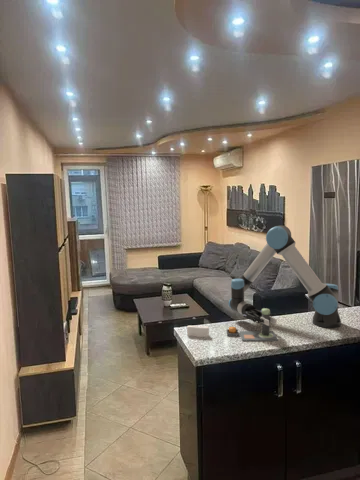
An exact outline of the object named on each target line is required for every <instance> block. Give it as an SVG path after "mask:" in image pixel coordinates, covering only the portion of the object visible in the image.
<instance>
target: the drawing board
mask: <svg viewBox="0 0 360 480" xmlns="http://www.w3.org/2000/svg"><path fill="white" fill-rule="evenodd" d="M239 336H240V338H241V341H242V342H278V341H279V339H278V337H277V335H276V334H275V332H274V330H270V334H269V335H263V334H262V330H241V331H239Z"/></svg>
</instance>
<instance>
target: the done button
mask: <svg viewBox="0 0 360 480" xmlns="http://www.w3.org/2000/svg"><path fill="white" fill-rule="evenodd" d="M228 329H229V332H228V333H237V332H236V329H237V327H235V326H229V327H228Z"/></svg>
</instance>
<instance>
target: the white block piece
mask: <svg viewBox="0 0 360 480" xmlns="http://www.w3.org/2000/svg"><path fill="white" fill-rule="evenodd" d="M186 329H187V331H186V332H187V337H189V336H190V337H197V338H209V337H210V332H209V331H210V328H209V326H201V325H200V326H199V325H187V327H186Z"/></svg>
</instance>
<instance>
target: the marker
mask: <svg viewBox="0 0 360 480" xmlns="http://www.w3.org/2000/svg"><path fill="white" fill-rule="evenodd" d="M261 310H262V317H263V318H265V319H267V320H269V326H267V325H265V324H263V323H261V331H262V334H263V335H269V334H270V331H271V329H270V328H271V325H270V323H271V322H270V314H271V310H270V308H267V307H266V308H265V307H263V308H261Z"/></svg>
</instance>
